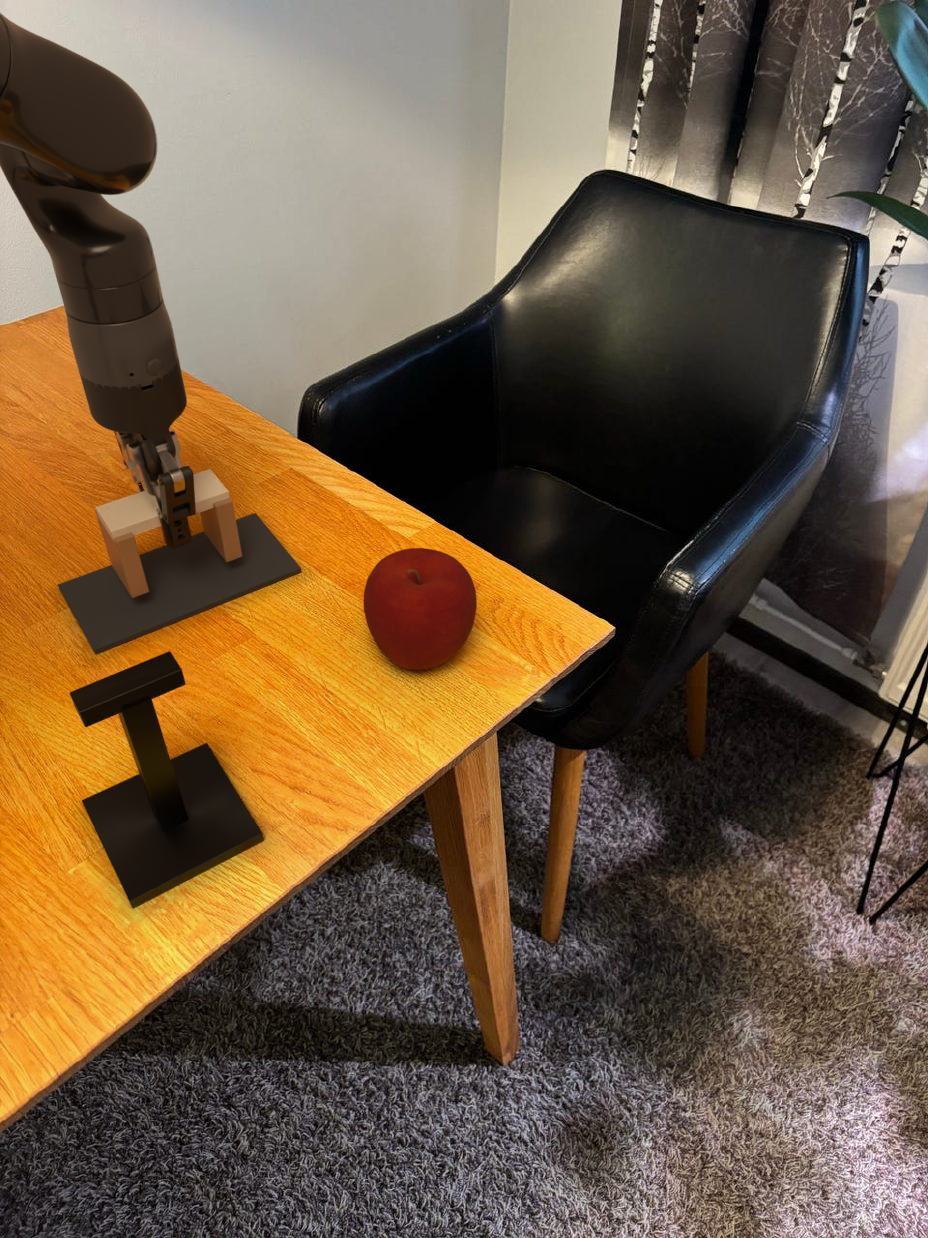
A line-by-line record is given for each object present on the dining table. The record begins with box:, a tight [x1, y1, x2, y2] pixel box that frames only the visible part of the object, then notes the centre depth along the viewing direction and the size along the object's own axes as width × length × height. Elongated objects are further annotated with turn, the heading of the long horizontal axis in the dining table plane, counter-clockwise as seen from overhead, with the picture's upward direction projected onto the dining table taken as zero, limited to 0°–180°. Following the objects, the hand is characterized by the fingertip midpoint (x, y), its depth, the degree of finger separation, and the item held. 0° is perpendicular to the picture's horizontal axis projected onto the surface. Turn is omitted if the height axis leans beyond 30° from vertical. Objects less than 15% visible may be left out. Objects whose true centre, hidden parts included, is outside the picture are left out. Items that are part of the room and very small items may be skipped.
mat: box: [57, 512, 302, 655], centre depth 91 cm, size 20×10×1 cm, turn 124°
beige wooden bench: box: [94, 468, 242, 598], centre depth 87 cm, size 11×5×7 cm, turn 124°
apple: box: [363, 547, 478, 671], centre depth 82 cm, size 10×10×10 cm
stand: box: [69, 650, 265, 909], centre depth 66 cm, size 10×10×16 cm
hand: (169, 529), depth 87 cm, fingers closed on beige wooden bench, 4 cm apart
